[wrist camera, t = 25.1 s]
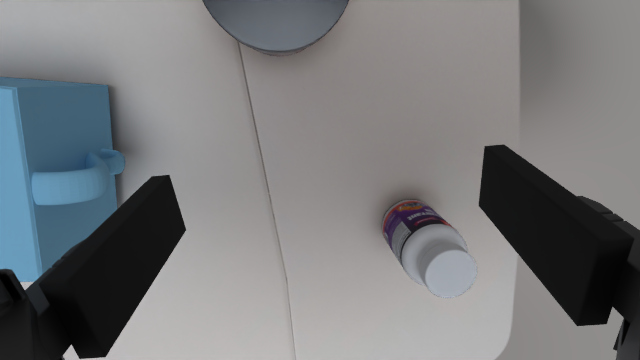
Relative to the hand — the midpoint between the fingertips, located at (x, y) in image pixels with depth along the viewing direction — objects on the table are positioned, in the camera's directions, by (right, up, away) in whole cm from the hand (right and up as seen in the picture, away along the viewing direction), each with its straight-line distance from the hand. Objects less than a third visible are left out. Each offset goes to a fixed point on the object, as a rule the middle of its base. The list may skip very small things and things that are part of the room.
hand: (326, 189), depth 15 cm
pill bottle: (+8, -4, +21) cm, 22 cm away
